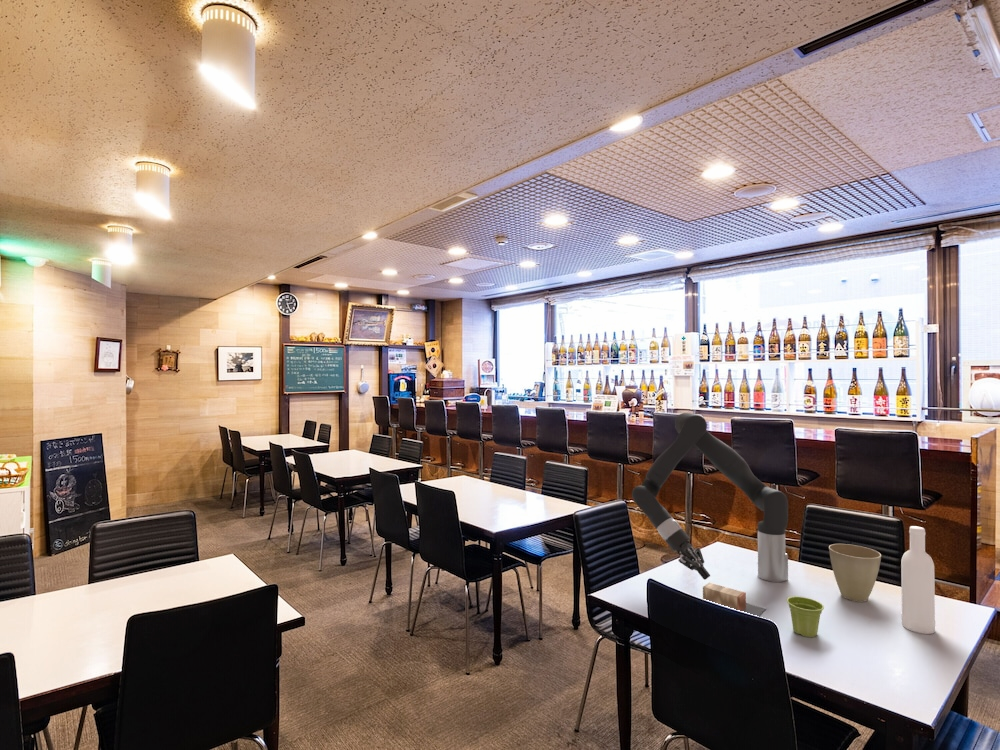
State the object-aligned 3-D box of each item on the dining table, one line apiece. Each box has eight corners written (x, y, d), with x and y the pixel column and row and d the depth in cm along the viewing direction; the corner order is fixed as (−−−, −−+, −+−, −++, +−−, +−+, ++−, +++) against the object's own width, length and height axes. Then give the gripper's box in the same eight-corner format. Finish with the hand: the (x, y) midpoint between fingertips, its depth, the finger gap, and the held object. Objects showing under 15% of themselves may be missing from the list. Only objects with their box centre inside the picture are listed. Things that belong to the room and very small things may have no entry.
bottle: (926, 636, 152) (925, 532, 152) (896, 625, 159) (895, 526, 159) (940, 630, 156) (939, 528, 156) (910, 619, 163) (909, 522, 163)
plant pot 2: (863, 610, 169) (863, 560, 170) (819, 593, 183) (818, 547, 183) (892, 601, 176) (891, 554, 176) (846, 585, 189) (846, 541, 189)
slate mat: (699, 607, 172) (699, 606, 172) (716, 595, 182) (716, 594, 182) (751, 623, 161) (751, 622, 161) (765, 609, 170) (765, 608, 170)
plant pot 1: (814, 625, 159) (813, 596, 159) (830, 641, 150) (830, 610, 150) (781, 624, 160) (781, 595, 160) (795, 639, 151) (795, 609, 151)
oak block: (702, 586, 176) (739, 597, 167) (709, 582, 179) (745, 592, 171) (702, 601, 176) (740, 613, 167) (709, 597, 179) (745, 608, 171)
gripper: (671, 532, 179) (706, 577, 171) (688, 524, 189) (723, 566, 180) (656, 544, 183) (691, 589, 174) (674, 535, 192) (708, 578, 184)
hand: (707, 577), depth 177 cm, fingers closed
